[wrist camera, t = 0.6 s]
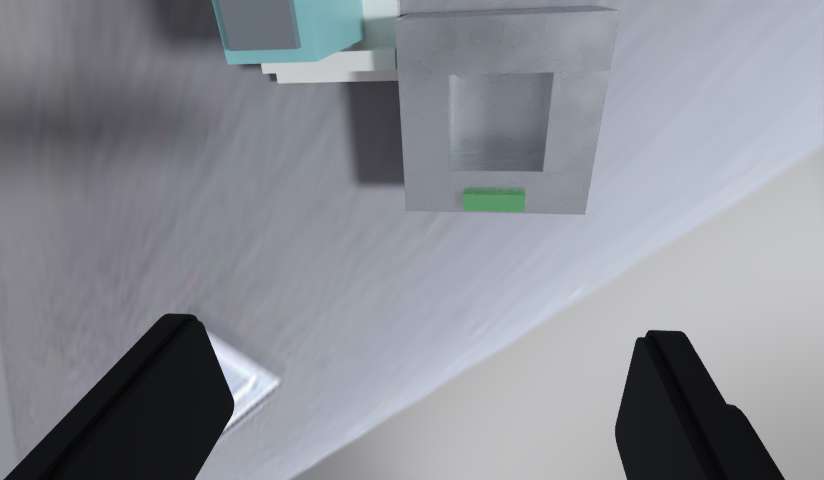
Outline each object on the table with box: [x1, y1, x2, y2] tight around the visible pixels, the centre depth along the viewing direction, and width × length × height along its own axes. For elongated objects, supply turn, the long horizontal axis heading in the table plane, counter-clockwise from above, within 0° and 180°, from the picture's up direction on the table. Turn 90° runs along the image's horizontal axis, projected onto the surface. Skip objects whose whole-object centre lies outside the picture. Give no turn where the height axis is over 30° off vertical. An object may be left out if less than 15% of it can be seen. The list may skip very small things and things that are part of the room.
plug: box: [212, 0, 366, 64], centre depth 24 cm, size 4×4×11 cm
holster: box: [261, 0, 400, 83], centre depth 28 cm, size 10×9×3 cm
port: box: [395, 6, 620, 215], centre depth 28 cm, size 12×12×6 cm
